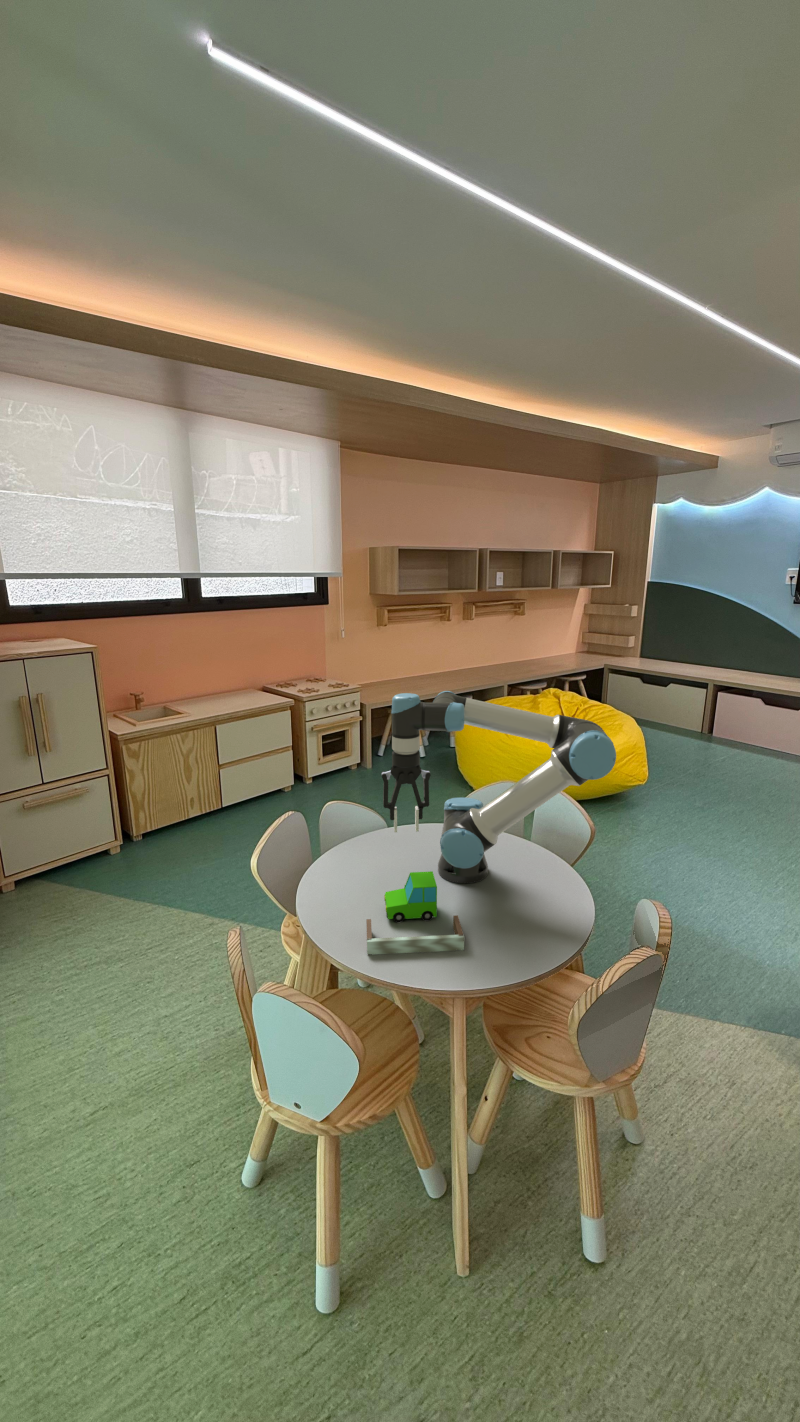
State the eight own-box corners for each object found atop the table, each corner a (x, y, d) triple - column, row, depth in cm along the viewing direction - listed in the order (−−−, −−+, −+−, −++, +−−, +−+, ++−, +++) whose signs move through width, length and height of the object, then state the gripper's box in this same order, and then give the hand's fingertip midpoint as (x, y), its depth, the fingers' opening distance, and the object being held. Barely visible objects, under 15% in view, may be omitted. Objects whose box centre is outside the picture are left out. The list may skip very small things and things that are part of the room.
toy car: (384, 905, 167) (383, 871, 165) (431, 902, 168) (432, 869, 166) (386, 926, 157) (386, 891, 155) (437, 923, 159) (437, 888, 156)
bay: (457, 927, 156) (457, 915, 156) (463, 950, 147) (464, 937, 146) (366, 931, 155) (366, 919, 154) (367, 954, 146) (366, 941, 145)
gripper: (437, 745, 169) (437, 823, 175) (371, 747, 168) (373, 825, 173) (441, 753, 162) (440, 834, 167) (372, 755, 161) (373, 836, 166)
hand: (406, 829), depth 170 cm, fingers open, 5 cm apart
